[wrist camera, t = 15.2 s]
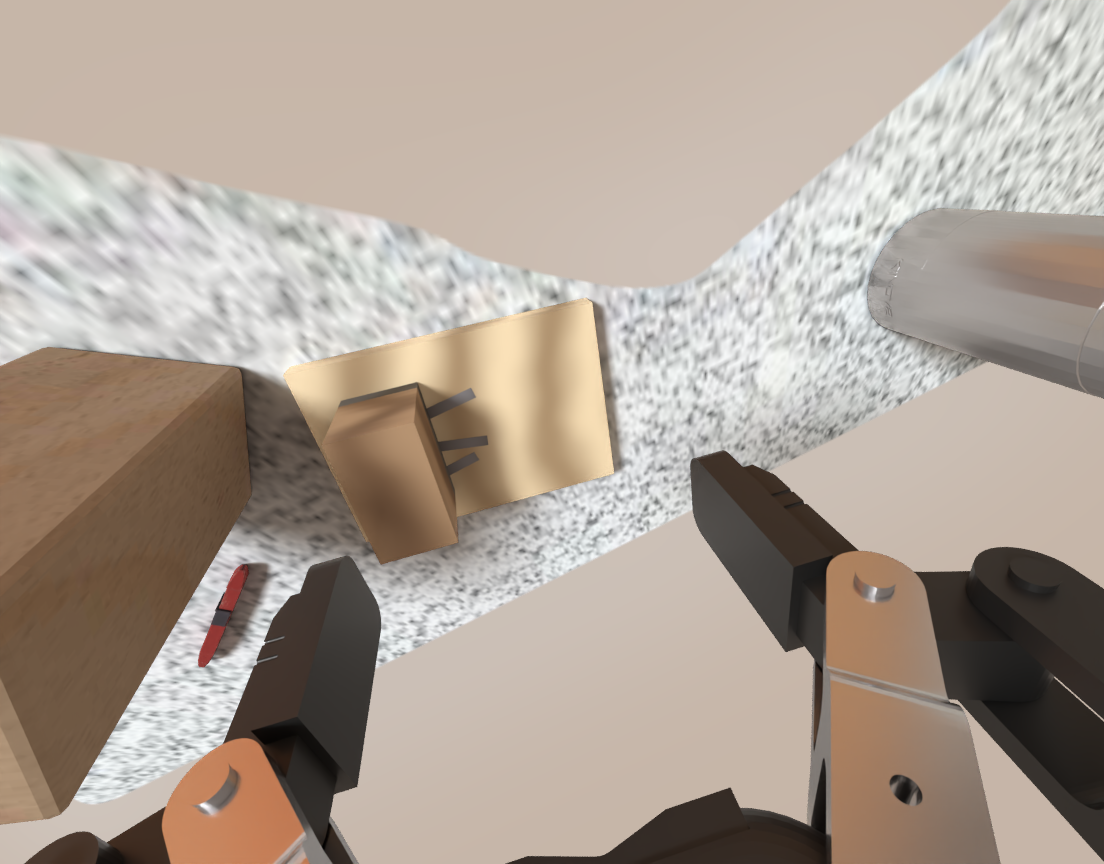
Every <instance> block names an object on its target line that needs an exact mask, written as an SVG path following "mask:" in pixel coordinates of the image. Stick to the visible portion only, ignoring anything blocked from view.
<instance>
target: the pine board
mask: <svg viewBox="0 0 1104 864" xmlns="http://www.w3.org/2000/svg"><path fill="white" fill-rule="evenodd" d="M283 376H284V378H285V380H286V382H287V384H288V386H289V388H290V390H291V392H292V394H293V396H294V398H295V400H296V402H297V404H298V406H299V408H300V410H301V412H302V414H303V416H304V418H305V420H306V422H307V424H308V426H309V428H310V430H311V432H312V434H313V436H314V438H315V440H316V442H317V444H318V446H319V448H320V450H321V452H322V454H323V456H324V458H325V460H326V462H327V464H328V466H329V468H330V470H331V472H332V474H333V476H334V478H335V480H336V482H337V484H338V486H339V488H340V490H341V492H342V494H343V496H344V498H345V500H346V502H347V504H348V506H349V508H350V510H351V512H352V514H353V516H354V518H355V520H356V522H357V524H358V526H359V528H360V530H361V533H362V535H363V537H364V539H365V541H366V542H369V540H368V538H367V536H366V534H365V532H364V530H363V528H362V526H361V524H360V522H359V520H358V518H357V516H356V514H355V512H354V510H353V508H352V506H351V504H350V502H349V500H348V498H347V496H346V494H345V492H344V490H343V488H342V486H341V484H340V482H339V480H338V478H337V475H336V473H335V471H334V469H333V467H332V465H331V463H330V461H329V459H328V457H327V455H326V453H325V451H324V449H323V447H322V444H323V441H324V439H325V437H326V434H327V432H328V430H329V427H330V425H331V423H332V420H333V418H334V416H335V413H336V411H337V409H338V406H339V404H340V402H341V401H342V400H346V399H350V398H354V397H358V396H362V395H366V394H370V393H375V392H379V391H383V390H387V389H391V388H395V387H399V386H403V385H407V384H411V383H415V382H418V385H419V388H420V391H421V394H422V396H423V399H424V402H425V405H426V408H427V411H428V414H429V417H430V419H431V422H432V425H433V428H434V431H435V434H436V437H437V440H438V443H439V445H440V448H441V451H442V454H443V457H444V460H445V463H446V466H447V468H448V471H449V474H450V477H451V480H452V483H453V486H454V489H455V499H456V514H457V517H459V516H463V515H466V514H470V513H474V512H477V511H481V510H484V509H488V508H492V507H495V506H499V505H502V504H506V503H510V502H513V501H517V500H521V499H524V498H528V497H531V496H535V495H539V494H542V493H546V492H549V491H553V490H557V489H560V488H564V487H568V486H571V485H575V484H578V483H582V482H586V481H589V480H593V479H596V478H600V477H604V476H607V475H611V474H614V468H613V460H612V452H611V445H610V437H609V429H608V421H607V414H606V406H605V398H604V390H603V382H602V375H601V367H600V359H599V351H598V343H597V336H596V328H595V320H594V312H593V304H592V302H591V301H589V300H588V299H587V298H583V299H579V300H575V301H570V302H566V303H562V304H557V305H553V306H549V307H545V308H540V309H536V310H532V311H527V312H523V313H519V314H515V315H510V316H506V317H502V318H497V319H493V320H489V321H485V322H480V323H476V324H472V325H467V326H463V327H459V328H455V329H450V330H446V331H442V332H437V333H433V334H429V335H425V336H420V337H416V338H412V339H407V340H403V341H399V342H395V343H390V344H386V345H382V346H377V347H373V348H369V349H365V350H360V351H356V352H352V353H348V354H343V355H339V356H335V357H330V358H326V359H322V360H318V361H313V362H309V363H305V364H300V365H296V366H292V367H289V368H288V370H287V371H286V372H285V374H284V375H283Z"/></svg>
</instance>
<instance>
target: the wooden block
mask: <svg viewBox="0 0 1104 864" xmlns="http://www.w3.org/2000/svg"><path fill="white" fill-rule="evenodd" d="M250 496H251V482H250V470H249V458H248V445H247V433H246V421H245V408H244V396H243V384H242V374H241V372H240V370H239V369H238V368H235V367H229V366H220V365H211V364H201V363H192V362H183V361H173V360H164V359H155V358H146V357H136V356H127V355H118V354H109V353H99V352H90V351H81V350H72V349H62V348H53V347H47V348H42V349H39V350H37V351H35V352H32V353H30V354H28V355H25V356H23V357H21V358H18V359H16V360H13V361H11V362H9V363H6V364H4V365H2V366H0V825H1V824H9V823H18V822H26V821H34V820H43V819H50V818H52V817H55V816H58V815H60V814H61V813H62V812H63V811H64V810H65V809H66V808H67V807H68V806H69V804H70V803H71V801H72V799H73V798H74V796H75V794H76V793H77V791H78V789H79V787H80V786H81V784H82V782H83V781H84V779H85V777H86V776H87V774H88V772H89V770H90V769H91V767H92V765H93V764H94V762H95V760H96V759H97V757H98V755H99V753H100V752H101V750H102V748H103V747H104V745H105V743H106V742H107V740H108V738H109V736H110V735H111V733H112V731H113V730H114V728H115V726H116V725H117V723H118V721H119V719H120V718H121V716H122V714H123V713H124V711H125V709H126V708H127V706H128V704H129V702H130V701H131V699H132V697H133V696H134V694H135V692H136V691H137V689H138V687H139V685H140V684H141V682H142V680H143V679H144V677H145V675H146V674H147V672H148V670H149V668H150V667H151V665H152V663H153V662H154V660H155V658H156V656H157V655H158V653H159V651H160V650H161V648H162V646H163V645H164V643H165V641H166V639H167V638H168V636H169V634H170V633H171V631H172V629H173V628H174V626H175V624H176V622H177V621H178V619H179V617H180V616H181V614H182V612H183V611H184V609H185V607H186V605H187V604H188V602H189V600H190V599H191V597H192V595H193V594H194V592H195V590H196V588H197V587H198V585H199V583H200V582H201V580H202V578H203V577H204V575H205V573H206V571H207V570H208V568H209V566H210V565H211V563H212V561H213V560H214V558H215V556H216V554H217V553H218V551H219V549H220V548H221V546H222V544H223V543H224V541H225V539H226V537H227V536H228V534H229V532H230V531H231V529H232V527H233V526H234V524H235V522H236V520H237V519H238V517H239V515H240V514H241V512H242V510H243V509H244V507H245V505H246V503H247V502H248V500H249V498H250Z"/></svg>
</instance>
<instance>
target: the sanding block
mask: <svg viewBox="0 0 1104 864" xmlns="http://www.w3.org/2000/svg"><path fill="white" fill-rule="evenodd" d="M322 447H323V449H324V451H325V453H326V455H327V457H328V459H329V461H330V463H331V465H332V467H333V469H334V471H335V473H336V475H337V478H338V480H339V482H340V484H341V486H342V488H343V490H344V492H345V494H346V496H347V498H348V500H349V502H350V504H351V506H352V508H353V510H354V512H355V514H356V516H357V518H358V520H359V522H360V524H361V526H362V528H363V530H364V532H365V534H366V536H367V538H368V540H369V542H370V544H371V546H372V548H373V550H374V552H375V554H376V556H377V558H378V560H379V562H380V564H384V563H388V562H391V561H395V560H398V559H402V558H406V557H409V556H413V555H416V554H420V553H423V552H427V551H430V550H434V549H437V548H441V547H444V546H448V545H451V544H455V543H458V529H457V514H456V499H455V489H454V486H453V483H452V480H451V477H450V474H449V471H448V468H447V466H446V463H445V460H444V457H443V454H442V451H441V448H440V445H439V443H438V440H437V437H436V434H435V431H434V428H433V425H432V422H431V419H430V417H429V414H428V411H427V408H426V405H425V402H424V399H423V396H422V394H421V391H420V388H419V385H418V382H415V383H411V384H407V385H403V386H399V387H395V388H391V389H387V390H383V391H379V392H375V393H370V394H366V395H362V396H358V397H354V398H350V399H346V400H342V401H341V402H340V404H339V406H338V409H337V411H336V413H335V416H334V418H333V420H332V423H331V425H330V427H329V430H328V432H327V434H326V437H325V439H324V441H323V444H322Z"/></svg>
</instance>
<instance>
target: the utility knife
mask: <svg viewBox="0 0 1104 864" xmlns="http://www.w3.org/2000/svg"><path fill="white" fill-rule="evenodd" d="M248 574H249V570H248V566H247V565H243V564H242V565H241V566H239V567H238V568H237V569H236V570H235V571H234V573H233V575H232V577H231V579H230V581H229V583H228V585H227V587H226V588H227V590H226V592H225V593H224V594H223V596H222V598H221V600H220V602H219V604H218V606H217V608H216V610H215V611H216V613H215V615H214V618H213V620H212V623H211V626H210V629H209V631H208V633H207V636H206V638H205V641H204V643H203V646H202V648H201V651H200V654H199V659H198V666H199V667H205V666H206V665H207V664H208V663H209V661H210V660H211V658H212V657H213V655H214V653H215V651H216V649H217V647H218V645H219V642H220V640H221V638H222V635H223V633H224V631H225V628H226V626H227V624H228V621H229V619H230V616H231V614H232V612H233V609H234V607H235V605H236V602H237V600H238V598H239V595H240V593H241V591H242V588H243V586H244V584H245V581H246V579H247V576H248Z"/></svg>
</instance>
